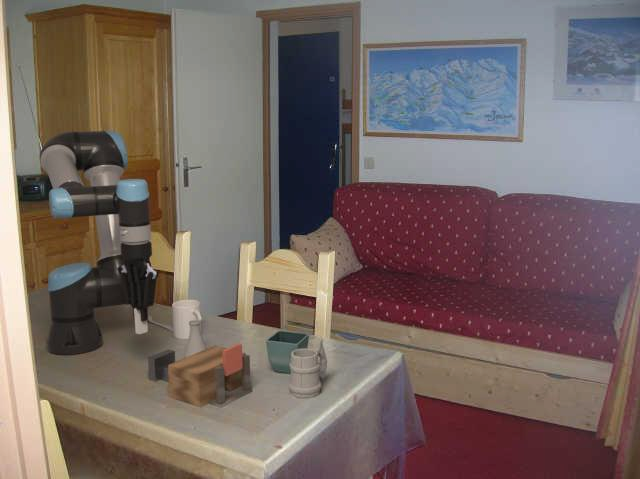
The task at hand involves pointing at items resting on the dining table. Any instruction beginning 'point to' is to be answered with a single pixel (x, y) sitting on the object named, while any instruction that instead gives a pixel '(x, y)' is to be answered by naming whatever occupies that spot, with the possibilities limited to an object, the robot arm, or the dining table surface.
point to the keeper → (232, 359)
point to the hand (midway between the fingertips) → (141, 332)
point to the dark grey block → (160, 365)
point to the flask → (194, 339)
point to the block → (208, 379)
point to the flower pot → (284, 348)
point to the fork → (160, 324)
